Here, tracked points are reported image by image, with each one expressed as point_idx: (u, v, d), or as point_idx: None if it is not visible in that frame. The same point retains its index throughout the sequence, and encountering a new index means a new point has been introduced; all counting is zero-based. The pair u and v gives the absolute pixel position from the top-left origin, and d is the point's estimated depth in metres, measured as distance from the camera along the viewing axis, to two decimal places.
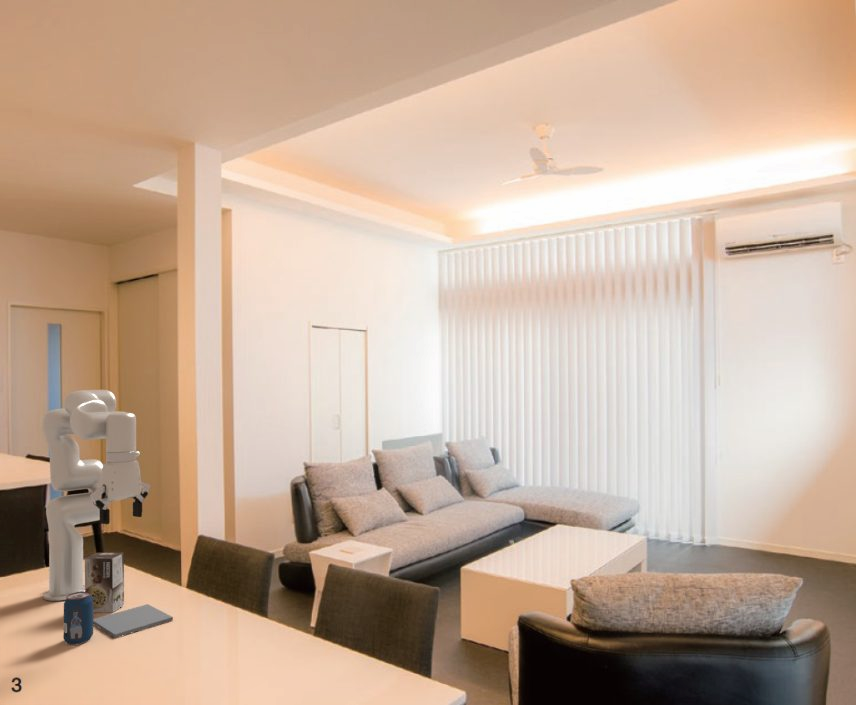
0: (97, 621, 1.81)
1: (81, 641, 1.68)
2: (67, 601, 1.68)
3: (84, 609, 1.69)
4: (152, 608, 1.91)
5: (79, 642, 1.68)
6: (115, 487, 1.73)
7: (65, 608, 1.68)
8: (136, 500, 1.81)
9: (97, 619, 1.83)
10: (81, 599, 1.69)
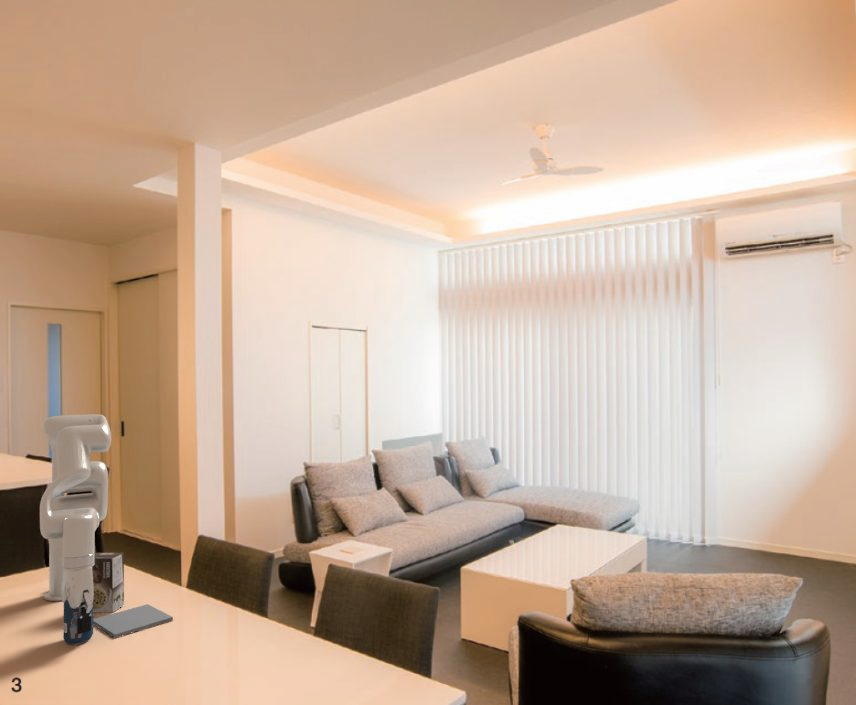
0: (97, 621, 1.81)
1: (81, 641, 1.68)
2: (67, 601, 1.68)
3: None
4: (152, 608, 1.91)
5: (78, 642, 1.68)
6: None
7: (65, 608, 1.68)
8: None
9: (97, 619, 1.83)
10: None
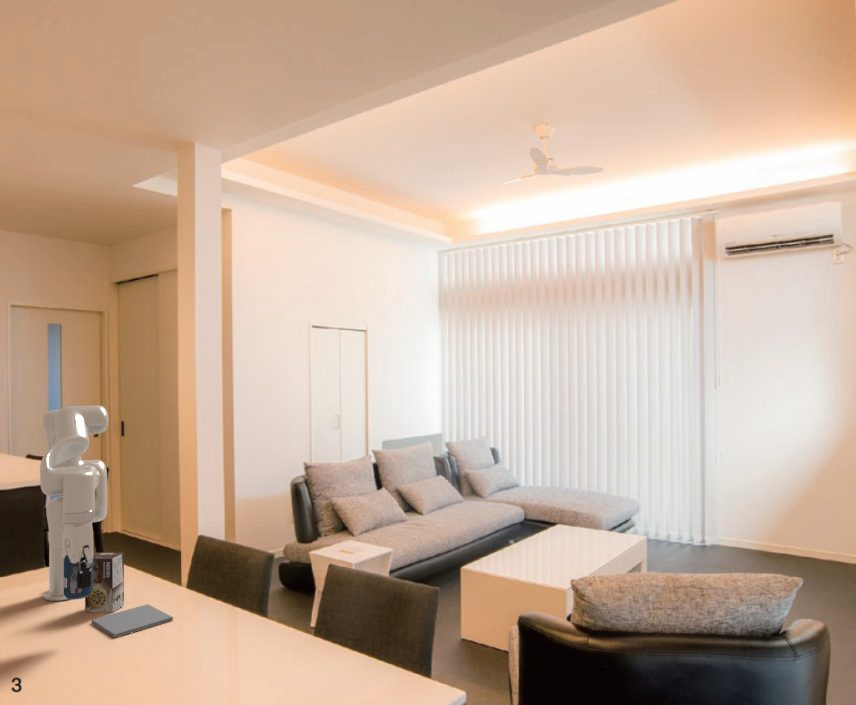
0: (97, 621, 1.81)
1: (81, 596, 1.69)
2: (67, 556, 1.69)
3: None
4: (152, 608, 1.91)
5: (78, 597, 1.69)
6: None
7: (65, 563, 1.69)
8: None
9: (97, 619, 1.83)
10: None
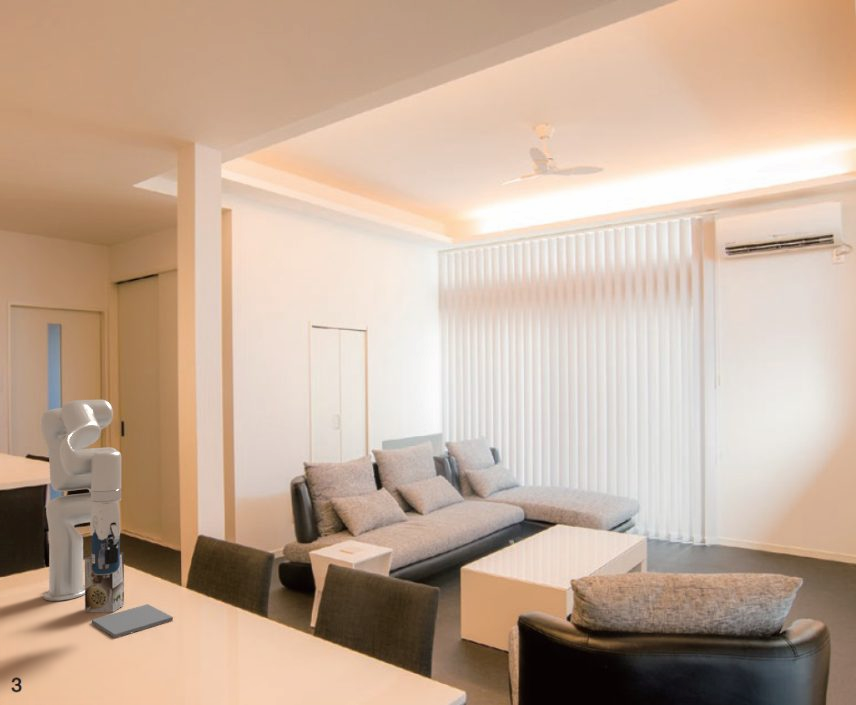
0: (97, 621, 1.81)
1: (108, 572, 1.75)
2: (95, 533, 1.75)
3: None
4: (152, 608, 1.91)
5: (106, 573, 1.75)
6: None
7: (93, 540, 1.75)
8: None
9: (97, 619, 1.83)
10: None
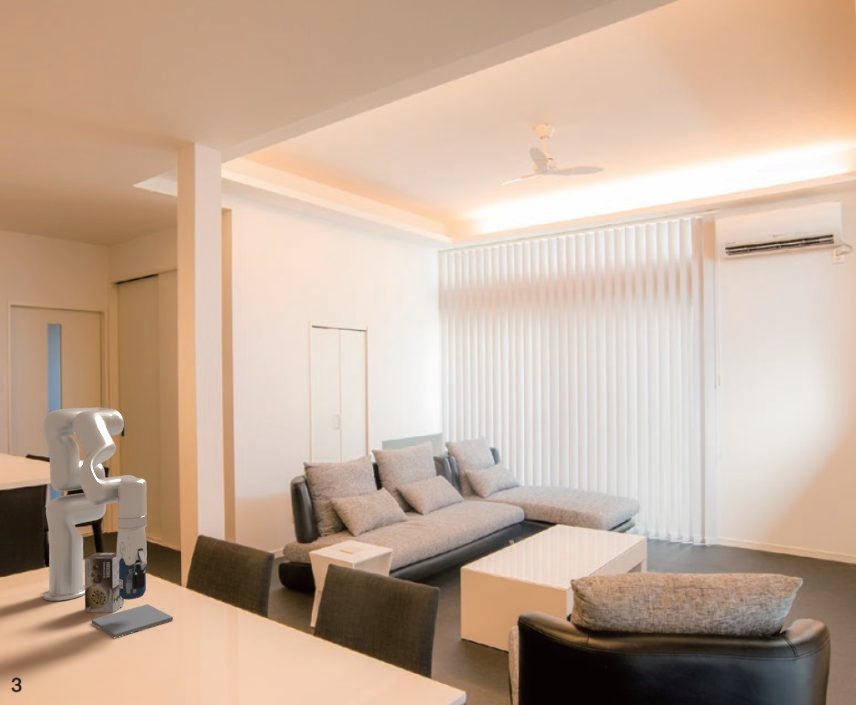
0: (97, 621, 1.81)
1: (136, 596, 1.81)
2: (122, 559, 1.81)
3: None
4: (152, 608, 1.91)
5: (133, 597, 1.81)
6: None
7: (121, 565, 1.81)
8: None
9: (97, 619, 1.83)
10: None
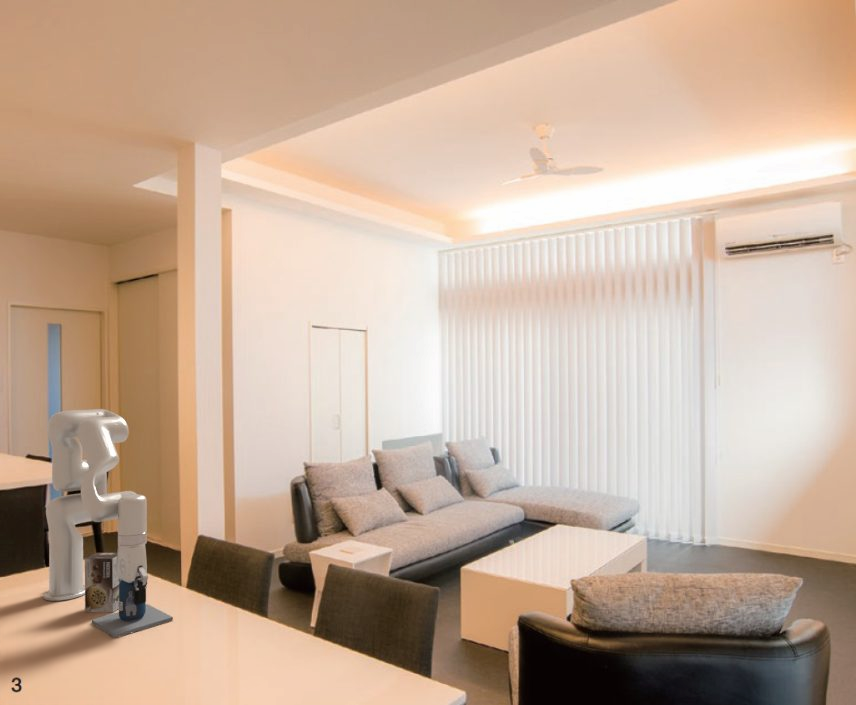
0: (97, 621, 1.81)
1: (135, 618, 1.81)
2: (122, 581, 1.81)
3: None
4: (152, 608, 1.91)
5: (133, 619, 1.81)
6: None
7: (121, 588, 1.81)
8: None
9: (97, 619, 1.83)
10: None
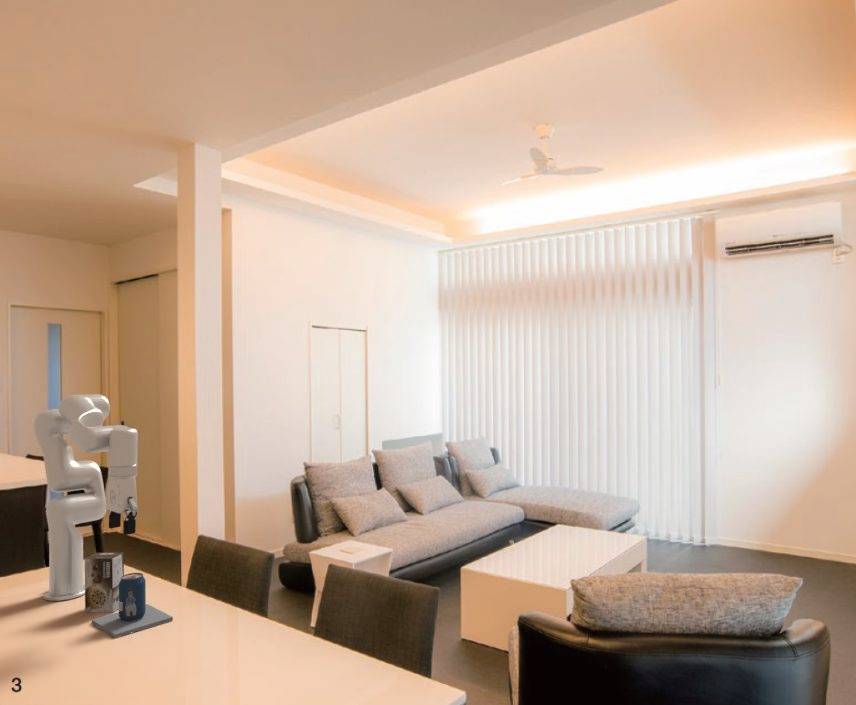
0: (97, 621, 1.81)
1: (135, 618, 1.81)
2: (122, 581, 1.81)
3: (138, 589, 1.81)
4: (152, 608, 1.91)
5: (133, 620, 1.81)
6: None
7: (120, 588, 1.81)
8: (114, 512, 1.88)
9: (97, 619, 1.83)
10: (135, 579, 1.81)
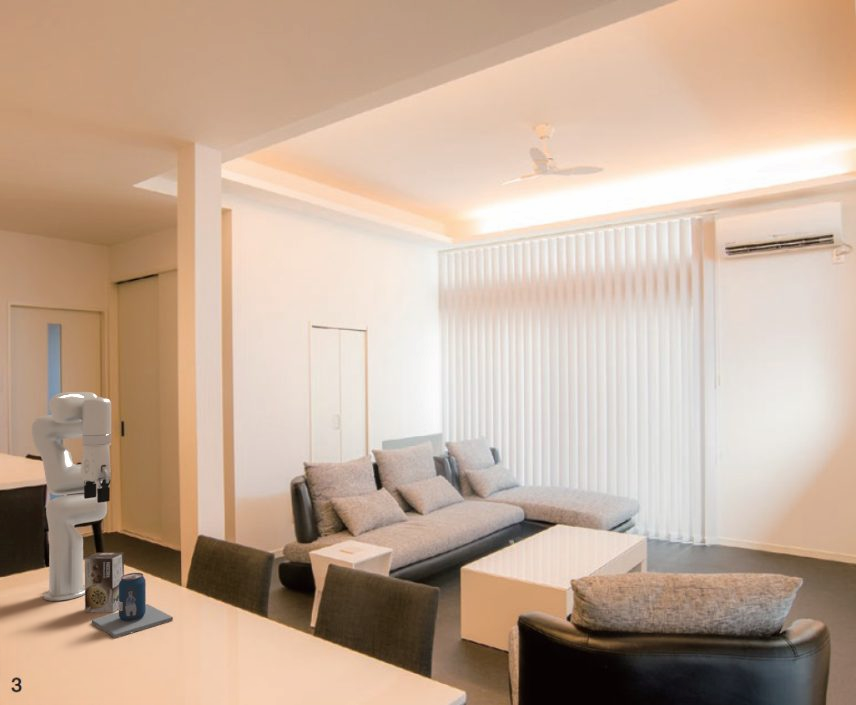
0: (97, 621, 1.81)
1: (135, 618, 1.81)
2: (122, 581, 1.81)
3: (138, 589, 1.81)
4: (152, 608, 1.91)
5: (133, 620, 1.81)
6: None
7: (120, 588, 1.81)
8: (89, 482, 1.90)
9: (97, 619, 1.83)
10: (135, 579, 1.81)
